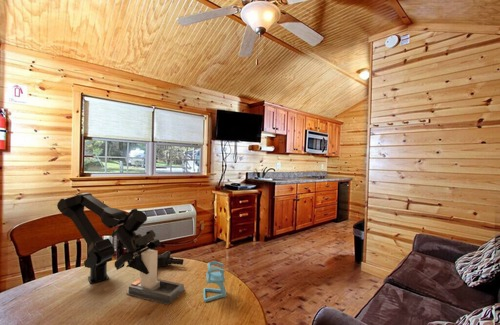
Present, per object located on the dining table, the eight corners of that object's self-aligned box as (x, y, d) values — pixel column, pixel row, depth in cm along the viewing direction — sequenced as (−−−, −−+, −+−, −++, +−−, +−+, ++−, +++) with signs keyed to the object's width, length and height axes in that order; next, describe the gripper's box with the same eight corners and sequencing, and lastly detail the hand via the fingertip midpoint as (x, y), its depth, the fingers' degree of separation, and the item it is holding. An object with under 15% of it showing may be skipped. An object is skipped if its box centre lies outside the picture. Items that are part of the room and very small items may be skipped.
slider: (136, 290, 89) (137, 253, 89) (147, 283, 94) (148, 248, 94) (150, 293, 87) (151, 255, 87) (160, 286, 93) (160, 250, 92)
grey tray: (126, 294, 88) (126, 286, 88) (146, 281, 97) (146, 274, 97) (168, 304, 82) (168, 296, 82) (184, 290, 92) (185, 282, 92)
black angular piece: (191, 249, 121) (163, 247, 123) (175, 262, 102) (142, 259, 104) (190, 260, 121) (162, 258, 122) (174, 275, 102) (141, 272, 103)
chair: (227, 300, 86) (228, 267, 86) (203, 302, 85) (205, 268, 84) (224, 288, 94) (225, 258, 94) (203, 290, 92) (204, 259, 92)
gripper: (121, 232, 83) (147, 269, 80) (157, 219, 101) (179, 249, 98) (103, 251, 85) (127, 288, 82) (141, 236, 103) (163, 265, 100)
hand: (151, 271), depth 90 cm, fingers closed on slider, 4 cm apart
